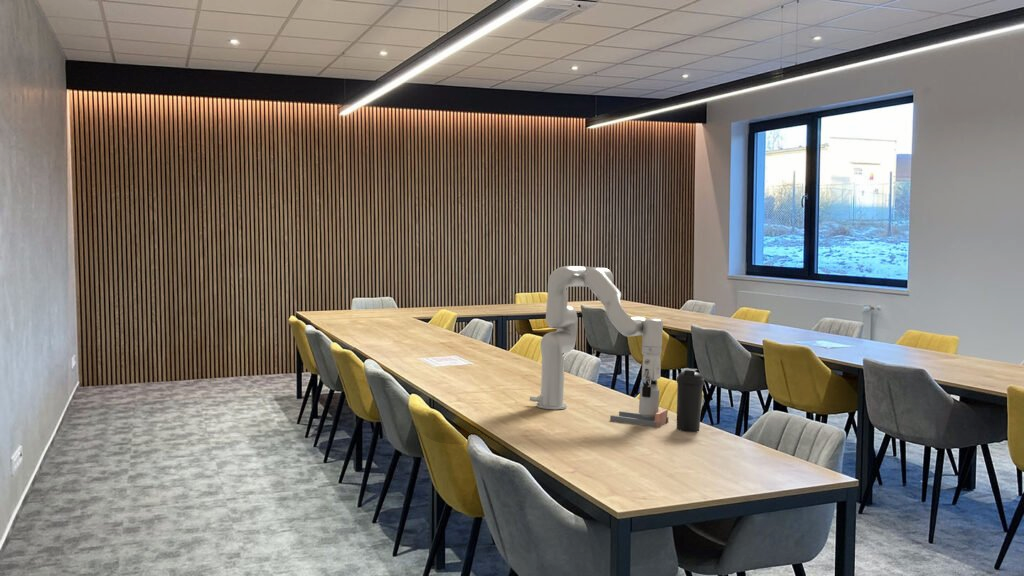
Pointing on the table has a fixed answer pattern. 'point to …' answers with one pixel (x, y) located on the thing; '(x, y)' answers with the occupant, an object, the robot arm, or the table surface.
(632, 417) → the channel
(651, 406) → the can
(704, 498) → the table surface
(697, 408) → the water bottle
